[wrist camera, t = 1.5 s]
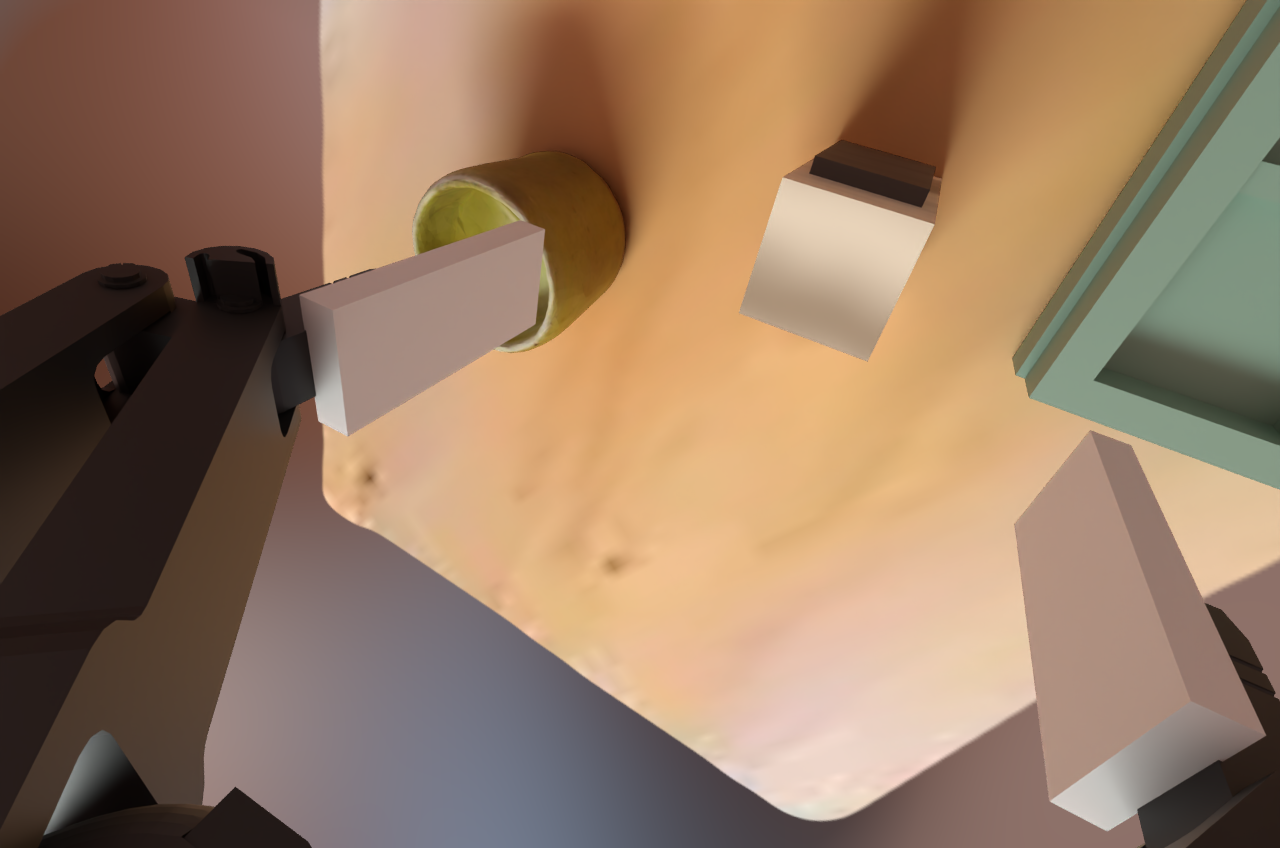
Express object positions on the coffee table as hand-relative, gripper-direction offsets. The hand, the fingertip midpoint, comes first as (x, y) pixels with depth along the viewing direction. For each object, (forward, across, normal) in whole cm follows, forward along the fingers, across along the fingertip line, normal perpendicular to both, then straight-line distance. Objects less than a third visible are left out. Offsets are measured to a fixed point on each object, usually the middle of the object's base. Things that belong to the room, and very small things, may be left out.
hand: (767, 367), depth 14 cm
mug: (+18, -17, -7) cm, 26 cm away
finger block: (+18, 0, 0) cm, 18 cm away
